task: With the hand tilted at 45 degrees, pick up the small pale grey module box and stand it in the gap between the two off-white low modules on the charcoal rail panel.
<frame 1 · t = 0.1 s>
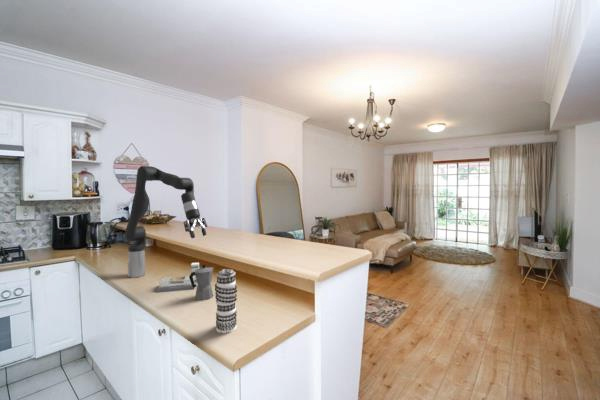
hand: (199, 236, 154), 31 cm above the worktop, fingers open, 8 cm apart
black and white cylinder: (226, 328, 114), on the worktop
coffeepot: (202, 298, 145), on the worktop
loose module: (195, 276, 178), on the worktop
rail panel: (177, 286, 160), on the worktop
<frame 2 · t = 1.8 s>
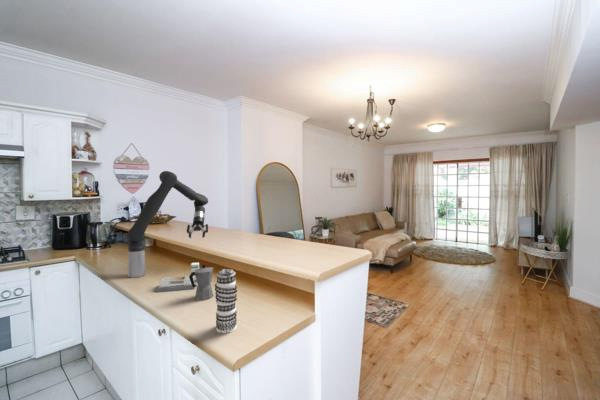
hand: (196, 237, 187), 25 cm above the worktop, fingers open, 8 cm apart
nothing on the worktop moved.
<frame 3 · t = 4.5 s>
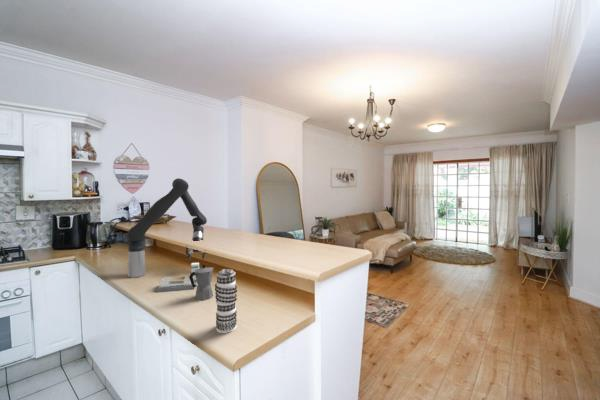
hand: (196, 259, 183), 11 cm above the worktop, fingers open, 8 cm apart
nothing on the worktop moved.
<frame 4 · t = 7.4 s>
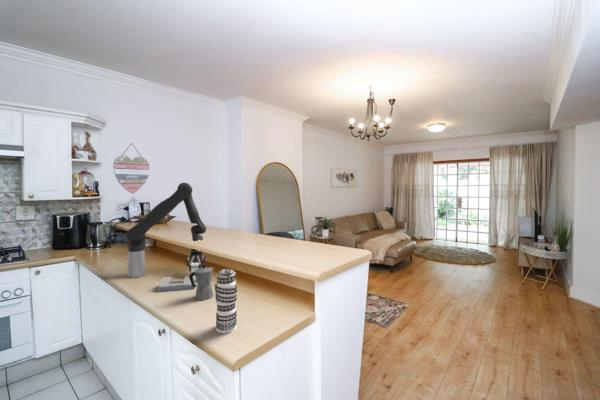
hand: (194, 270, 176), 5 cm above the worktop, fingers closed on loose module, 4 cm apart
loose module: (195, 276, 178), on the worktop, touching gripper
everything else where it was.
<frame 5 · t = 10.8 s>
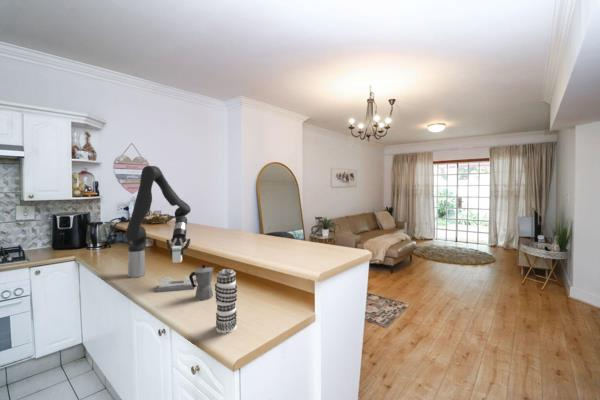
hand: (176, 254, 158), 20 cm above the worktop, fingers closed on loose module, 4 cm apart
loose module: (177, 261, 160), point 15 cm above the worktop, touching gripper
everything else where it was.
when the fingers open (8 cm above the worktop, at t = 14.6 s): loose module drops 1 cm, resting on rail panel.
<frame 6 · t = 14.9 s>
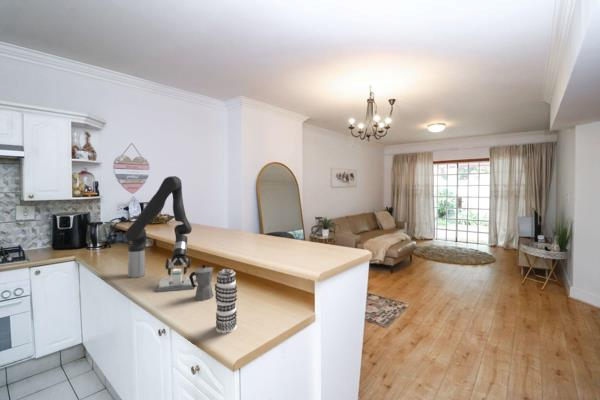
hand: (177, 274, 158), 8 cm above the worktop, fingers open, 7 cm apart
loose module: (177, 284, 160), point 1 cm above the worktop, touching rail panel
everything else where it was.
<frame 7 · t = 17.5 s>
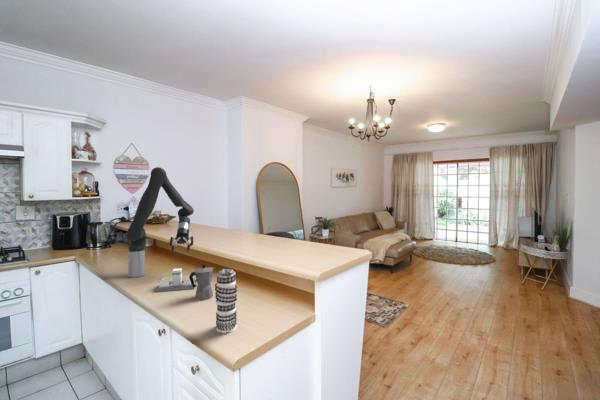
hand: (180, 251, 171), 19 cm above the worktop, fingers open, 8 cm apart
nothing on the worktop moved.
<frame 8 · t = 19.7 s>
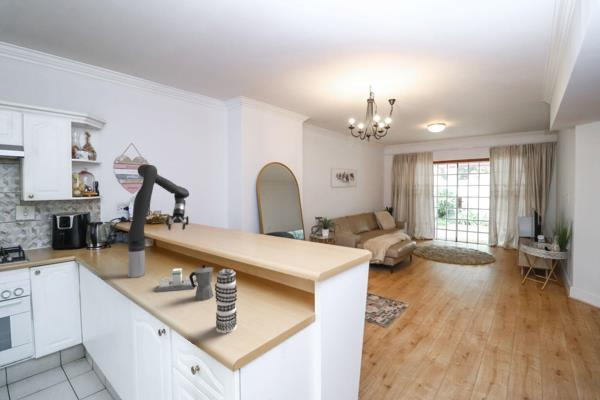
hand: (176, 229, 183), 31 cm above the worktop, fingers open, 8 cm apart
nothing on the worktop moved.
at the end: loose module 0.2 cm off-centre on the rail panel, point 1.5 cm above the rail panel's base; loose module tilted 0°; the gripper is holding nothing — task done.
